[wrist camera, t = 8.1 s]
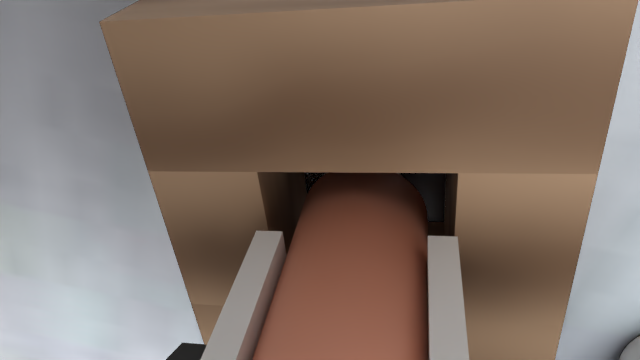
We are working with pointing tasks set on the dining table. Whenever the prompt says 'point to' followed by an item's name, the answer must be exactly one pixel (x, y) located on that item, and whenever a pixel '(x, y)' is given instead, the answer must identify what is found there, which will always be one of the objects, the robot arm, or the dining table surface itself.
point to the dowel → (353, 274)
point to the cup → (631, 350)
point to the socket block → (381, 132)
